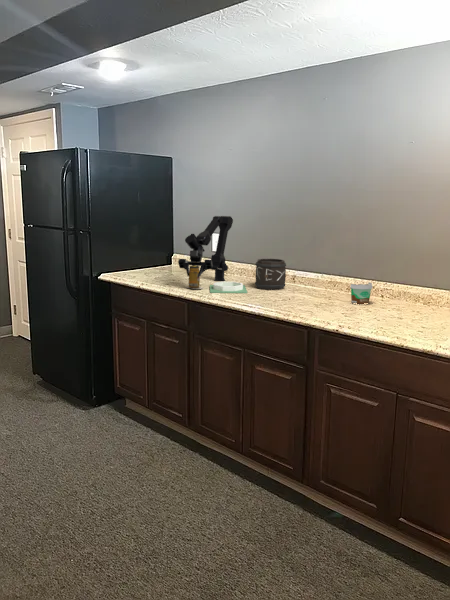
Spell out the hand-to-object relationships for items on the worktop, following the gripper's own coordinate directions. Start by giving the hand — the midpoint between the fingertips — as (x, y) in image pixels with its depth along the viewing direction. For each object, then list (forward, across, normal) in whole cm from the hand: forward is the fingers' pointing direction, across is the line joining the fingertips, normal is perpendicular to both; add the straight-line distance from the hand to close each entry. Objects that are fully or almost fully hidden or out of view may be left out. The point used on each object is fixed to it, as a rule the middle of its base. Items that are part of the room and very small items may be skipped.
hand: (193, 276), depth 286 cm
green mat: (+3, +19, +8) cm, 20 cm away
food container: (+20, +89, -9) cm, 92 cm away
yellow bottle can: (+4, 0, +6) cm, 7 cm away
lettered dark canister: (-4, +41, +15) cm, 44 cm away
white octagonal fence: (+3, +19, +8) cm, 20 cm away
